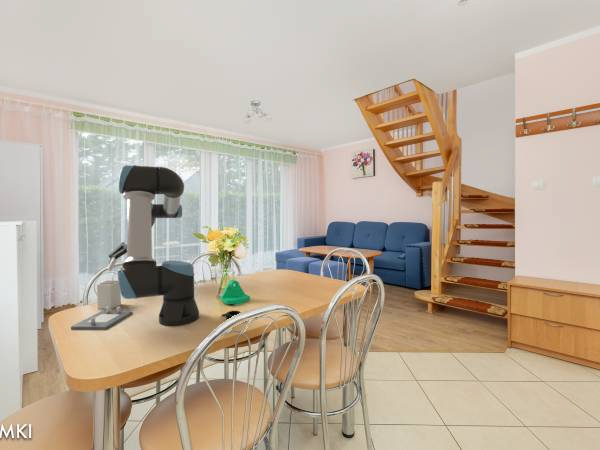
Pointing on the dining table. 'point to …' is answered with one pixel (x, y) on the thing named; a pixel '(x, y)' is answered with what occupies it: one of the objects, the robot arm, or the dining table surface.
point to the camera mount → (234, 294)
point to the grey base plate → (102, 319)
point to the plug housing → (108, 294)
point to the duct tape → (230, 314)
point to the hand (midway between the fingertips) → (122, 270)
